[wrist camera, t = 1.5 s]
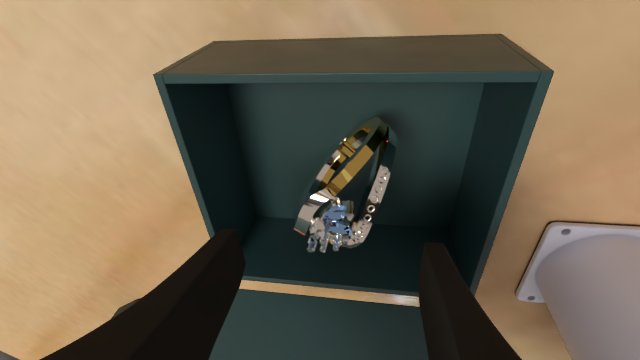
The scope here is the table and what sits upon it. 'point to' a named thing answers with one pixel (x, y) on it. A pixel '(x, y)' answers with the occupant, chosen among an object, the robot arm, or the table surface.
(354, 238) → the ring
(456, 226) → the carton
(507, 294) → the table surface
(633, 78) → the table surface
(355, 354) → the flap
